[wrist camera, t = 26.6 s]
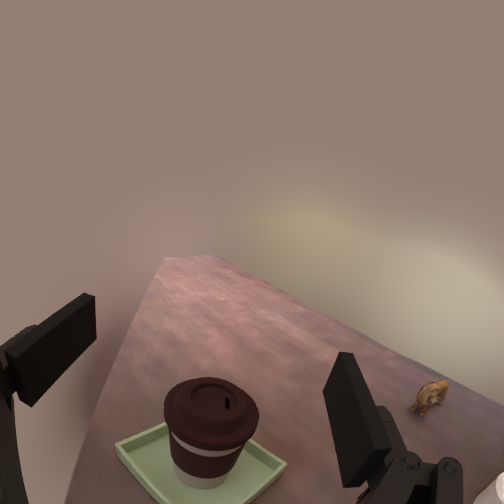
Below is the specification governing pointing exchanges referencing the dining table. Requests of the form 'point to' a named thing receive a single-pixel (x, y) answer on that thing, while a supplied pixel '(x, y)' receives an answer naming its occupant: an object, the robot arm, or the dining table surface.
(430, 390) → the lion figurine
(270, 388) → the dining table surface
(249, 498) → the tray
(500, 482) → the cylinder with rectangular tab
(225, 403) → the coffee cup
